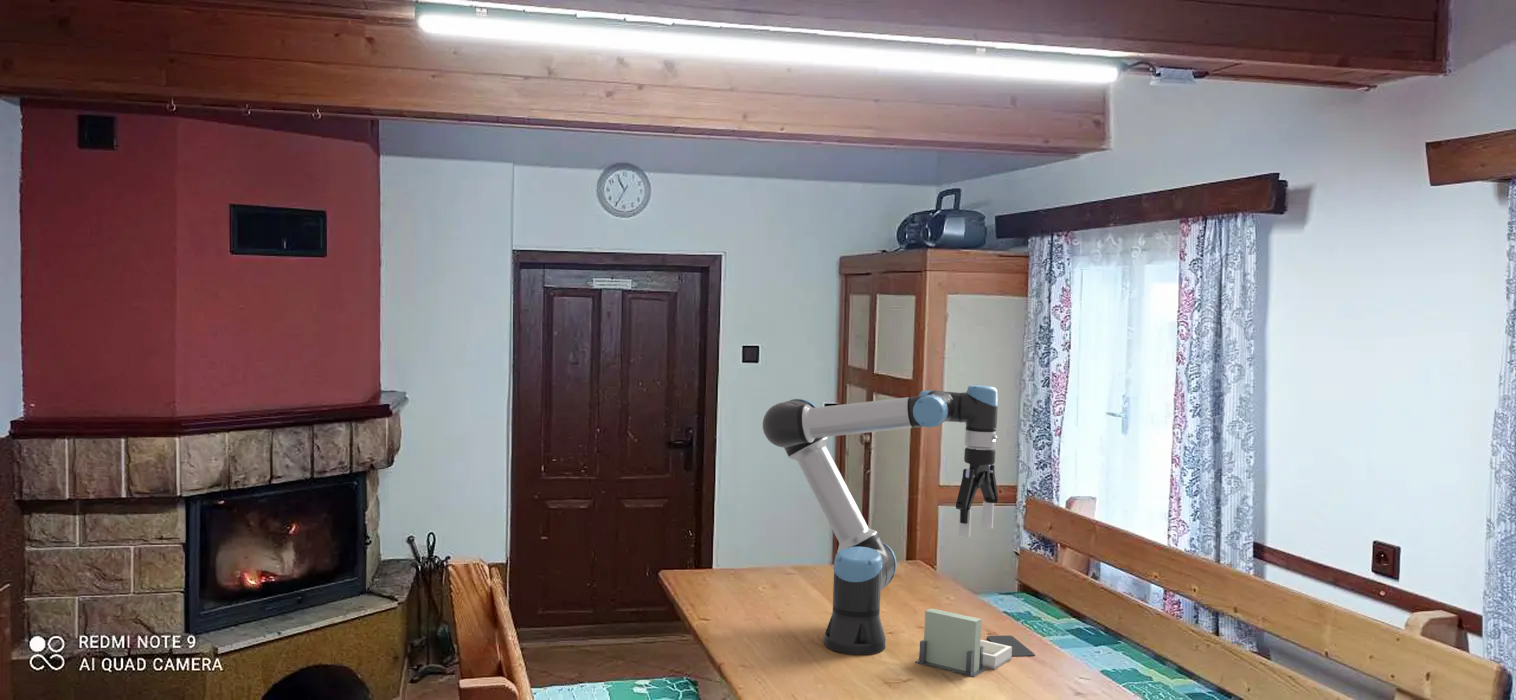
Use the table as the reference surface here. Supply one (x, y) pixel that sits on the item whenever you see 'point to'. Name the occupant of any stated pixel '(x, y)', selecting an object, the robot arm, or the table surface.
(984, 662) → the white divided tray
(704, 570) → the table surface
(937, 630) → the door panel
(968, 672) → the grey four-post stand
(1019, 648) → the smartphone
